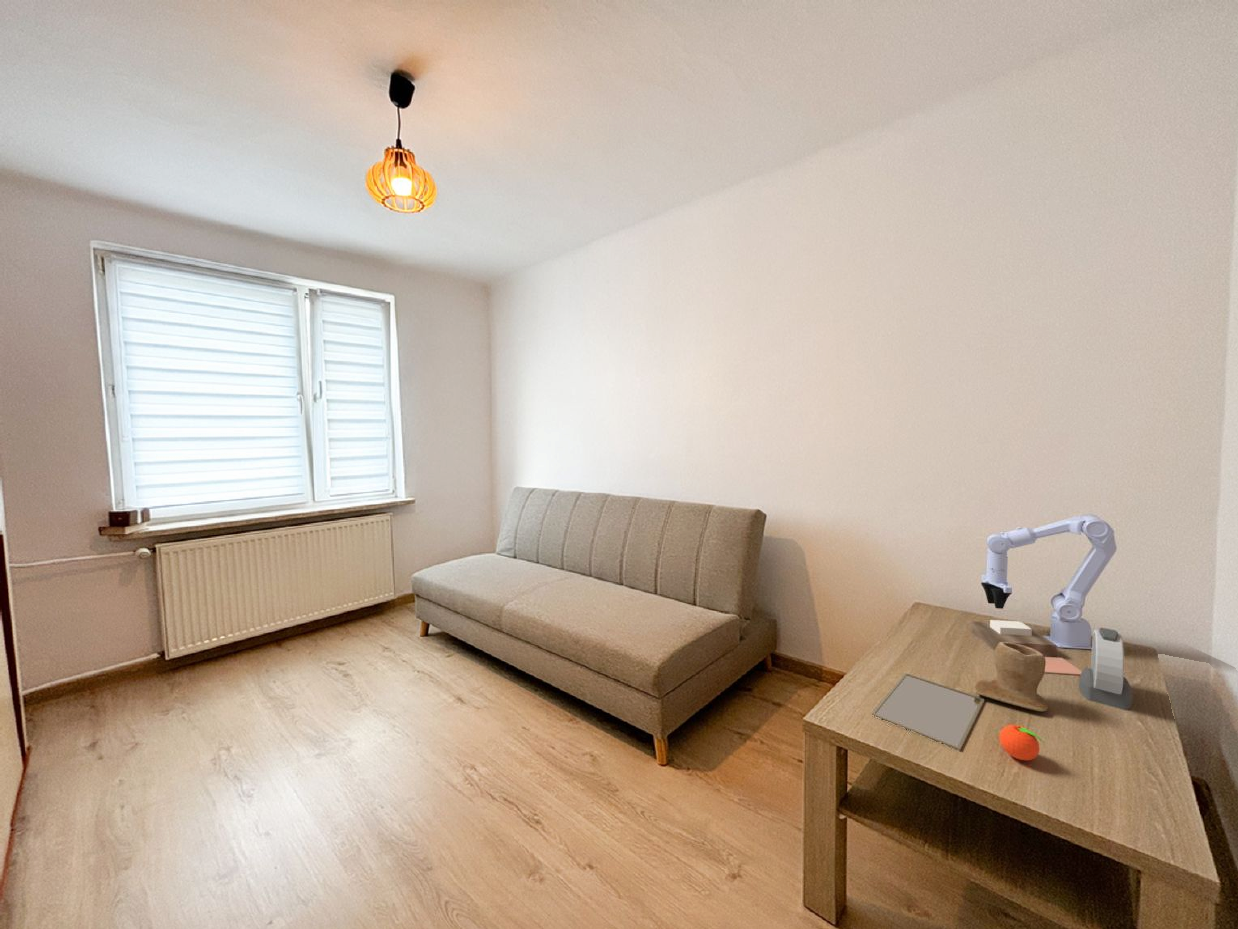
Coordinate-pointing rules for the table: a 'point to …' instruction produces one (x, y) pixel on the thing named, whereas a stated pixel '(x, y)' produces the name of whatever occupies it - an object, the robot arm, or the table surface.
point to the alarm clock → (1106, 672)
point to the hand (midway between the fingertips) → (995, 605)
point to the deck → (1014, 639)
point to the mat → (1060, 667)
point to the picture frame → (930, 710)
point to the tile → (1010, 628)
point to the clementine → (1019, 742)
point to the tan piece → (1016, 677)
